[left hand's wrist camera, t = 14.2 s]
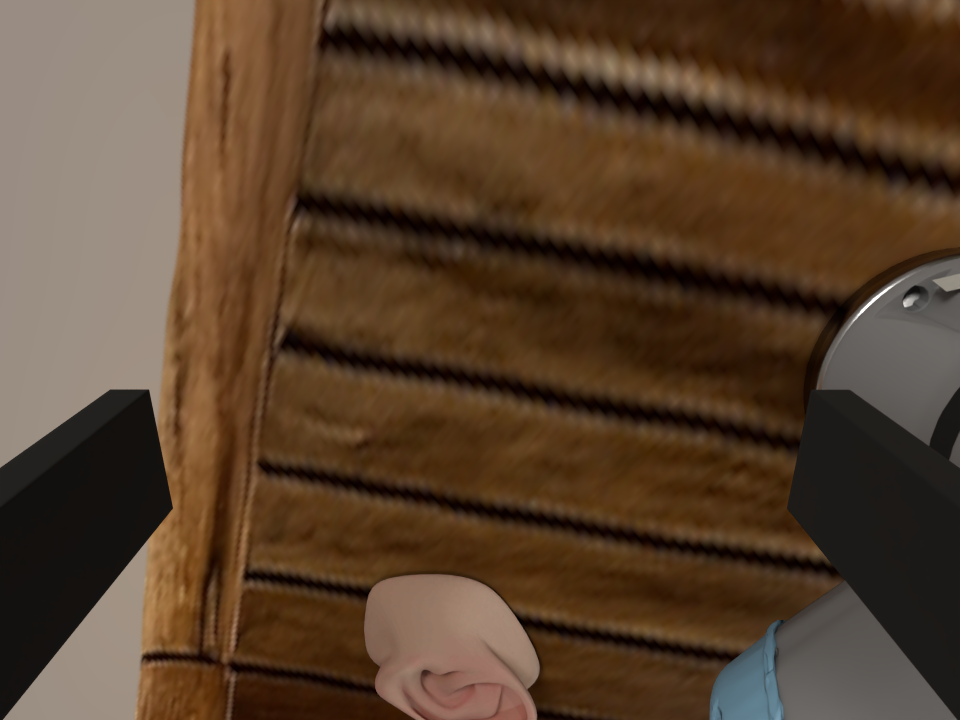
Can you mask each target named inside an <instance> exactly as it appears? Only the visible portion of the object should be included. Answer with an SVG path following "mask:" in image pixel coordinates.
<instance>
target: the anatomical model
mask: <svg viewBox="0 0 960 720" xmlns="http://www.w3.org/2000/svg"><path fill="white" fill-rule="evenodd" d="M364 632H365V642H366V648H367V652H368V654H369V656H370V657H371V659H372V660H373V661H374V662H375V663H376V664H377V665H379V666H380V669H379V671H378V674H377V676H376V679H375V688H376V691H377V693H378V694H379V695H380V696H381V697H382V698H383V699H385V700H386V701H388V702H389V703H391V704H392V705H394V706H395V707H397V708H398V709H400V710H402V711H403V712H405V713H406V714H408V715H409V716H411V717H413V718H414V719H416V720H537V712H536V707H535V704H534V702H533V699H532V697H531V695H530V694H529V692H528V690H527V689H528V688H529V687H530V686H531V685H532V684H533V683H534V682H535V681H536V679H537V677H538V675H539V669H540V667H539V661H538V658H537V655H536V652H535V650H534V648H533V646H532V644H531V642H530V640H529V638H528V636H527V634H526V632H525V631H524V629H523V627H522V626H521V624H520V623H519V621H518V620H517V618H516V617H515V615H514V614H513V613H512V611H511V610H510V608H509V607H508V606H507V605H506V603H505V602H504V601H503V600H502V599H501V598H500V597H499V596H498V595H497V594H496V593H495V592H494V591H493V590H492V589H490V588H489V587H487V586H486V585H484V584H482V583H480V582H478V581H475V580H472V579H469V578H465V577H460V576H453V575H442V574H420V575H406V576H399V577H393V578H389V579H386V580H383V581H381V582H379V583H377V584H376V585H375V586H374V587H373V588H372V590H371V591H370V594H369V596H368V600H367V604H366V613H365V623H364Z"/></svg>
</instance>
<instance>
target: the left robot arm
mask: <svg viewBox="0 0 960 720" xmlns="http://www.w3.org/2000/svg"><path fill="white" fill-rule="evenodd" d="M804 406H805V413H806V417H805V422H804V427H803V432H802V437H801V442H800V447H799V452H798V457H797V462H796V466H795V471H794V476H793V481H792V486H791V491H790V496H789V501H788V506H787V509H788V510H789V511H790V513H791V514H792V515H793V516H794V518H795V519H796V520H797V521H798V523H799V524H800V525H801V526H802V527H803V529H804V530H805V531H806V532H807V534H808V535H809V536H810V537H811V539H812V540H813V541H814V542H815V544H816V545H817V546H818V547H819V549H820V550H821V551H822V552H823V554H824V555H825V556H826V557H827V559H828V560H829V561H830V562H831V564H832V565H833V566H834V567H835V568H836V570H837V571H838V572H839V573H840V575H841V576H842V577H843V578H844V581H843V582H841V583H840V584H838V585H837V586H836V587H834V588H833V589H831V590H830V591H828V592H827V593H826V594H824V595H823V596H821V597H820V598H818V599H817V600H816V601H814V602H813V603H811V604H810V605H808V606H807V607H806V608H804V609H803V610H801V611H800V612H798V613H797V614H796V615H794V616H793V617H791V618H790V619H788V620H787V621H785V620H781V621H780V620H777V621H775V622H774V623H772V624H771V625H770V626H769V627H768V629H767V632H766V635H765V636H763V637H762V638H761V639H760V640H758V641H757V642H756V643H754V644H753V645H752V646H751V647H749V648H748V649H747V650H746V651H744V652H743V653H742V654H741V655H739V656H738V657H737V658H736V659H734V660H733V661H732V662H730V663H729V664H728V665H727V666H726V667H725V668H724V669H723V670H722V671H721V672H720V674H719V675H718V677H717V679H716V681H715V683H714V686H713V689H712V694H711V699H710V720H960V248H950V249H943V250H938V251H933V252H929V253H925V254H922V255H919V256H916V257H913V258H910V259H908V260H905V261H903V262H901V263H899V264H897V265H894V266H892V267H891V268H889V269H887V270H885V271H884V272H882V273H880V274H879V275H877V276H876V277H874V278H873V279H871V280H870V281H868V282H867V283H866V284H865V285H863V286H862V287H861V288H859V289H858V290H857V291H856V292H855V293H854V294H853V295H852V296H851V297H850V298H848V299H847V300H846V301H845V303H844V304H843V305H842V306H841V307H840V308H839V309H838V310H837V311H836V313H835V314H834V315H833V317H832V318H831V319H830V321H829V322H828V324H827V325H826V327H825V328H824V330H823V331H822V333H821V335H820V337H819V339H818V341H817V342H816V344H815V347H814V349H813V352H812V354H811V357H810V360H809V363H808V366H807V371H806V376H805V383H804ZM172 509H173V506H172V501H171V496H170V491H169V486H168V481H167V476H166V471H165V466H164V462H163V457H162V452H161V447H160V442H159V437H158V432H157V427H156V422H155V417H154V412H153V407H152V402H151V397H150V392H149V390H109V391H108V392H106V393H105V394H103V395H102V396H101V397H99V398H98V399H96V400H95V401H94V402H92V403H91V404H89V405H88V406H87V407H85V408H84V409H82V410H81V411H80V412H78V413H77V414H75V415H74V416H73V417H71V418H70V419H68V420H67V421H66V422H64V423H63V424H61V425H60V426H58V427H57V428H56V429H54V430H53V431H52V432H50V433H49V434H47V435H46V436H44V437H43V438H42V439H40V440H39V441H37V442H36V443H35V444H33V445H32V446H30V447H29V448H28V449H26V450H25V451H23V452H22V453H21V454H19V455H18V456H16V457H15V458H13V459H12V460H11V461H9V462H8V463H7V464H5V465H4V466H2V467H1V468H0V720H3V719H4V718H5V716H6V715H7V714H8V713H9V711H10V710H11V709H12V708H13V706H14V705H15V704H16V703H17V701H18V700H19V699H20V698H21V696H22V695H23V694H24V693H25V692H26V690H27V689H28V688H29V686H30V685H31V684H32V683H33V682H34V680H35V679H36V678H37V677H38V675H39V674H40V673H41V672H42V670H43V669H44V668H45V667H46V665H47V664H48V663H49V662H50V660H51V659H52V658H53V657H54V655H55V654H56V653H57V652H58V651H59V649H60V648H61V647H62V645H63V644H64V643H65V642H66V641H67V639H68V638H69V637H70V636H71V634H72V633H73V632H74V631H75V629H76V628H77V627H78V626H79V624H80V623H81V622H82V621H83V619H84V618H85V617H86V616H87V614H88V613H89V612H90V611H91V609H92V608H93V607H94V606H95V605H96V603H97V602H98V601H99V600H100V598H101V597H102V596H103V595H104V593H105V592H106V591H107V590H108V588H109V587H110V586H111V585H112V583H113V582H114V581H115V580H116V578H117V577H118V576H119V575H120V573H121V572H122V571H123V570H124V568H125V567H126V566H127V565H128V564H129V562H130V561H131V560H132V559H133V557H134V556H135V555H136V554H137V552H138V551H139V550H140V549H141V547H142V546H143V545H144V544H145V542H146V541H147V540H148V539H149V537H150V536H151V535H152V534H153V532H154V531H155V530H156V529H157V527H158V526H159V525H160V524H161V523H162V521H163V520H164V519H165V518H166V516H167V515H168V514H169V513H170V511H171V510H172Z"/></svg>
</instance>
